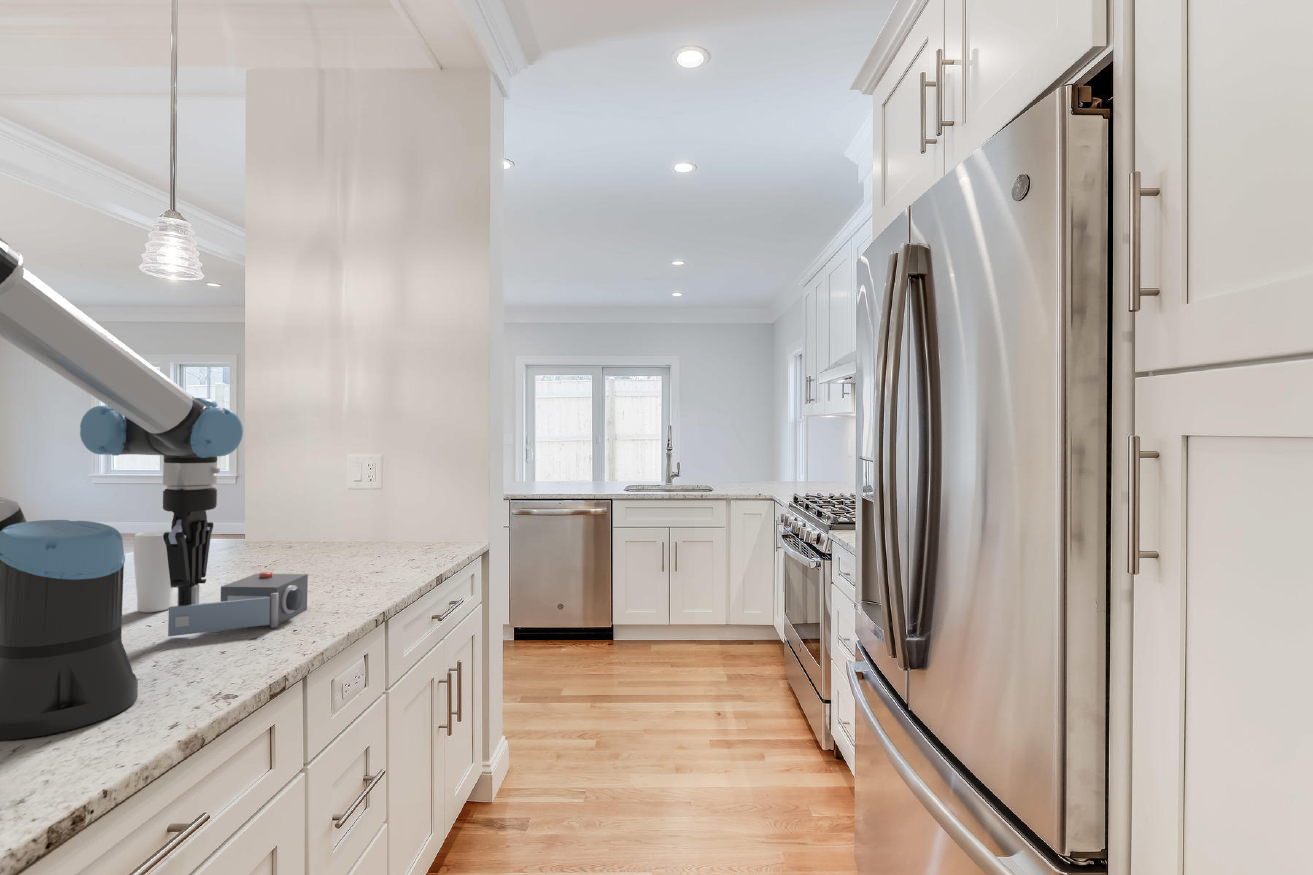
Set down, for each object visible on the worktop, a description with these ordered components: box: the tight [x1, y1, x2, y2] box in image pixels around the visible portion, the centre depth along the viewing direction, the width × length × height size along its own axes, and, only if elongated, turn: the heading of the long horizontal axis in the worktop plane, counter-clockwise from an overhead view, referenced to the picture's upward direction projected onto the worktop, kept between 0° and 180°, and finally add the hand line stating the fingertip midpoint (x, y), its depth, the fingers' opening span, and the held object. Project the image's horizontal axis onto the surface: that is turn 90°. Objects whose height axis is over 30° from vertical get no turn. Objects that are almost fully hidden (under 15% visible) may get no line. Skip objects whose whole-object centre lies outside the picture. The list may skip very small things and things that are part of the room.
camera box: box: [220, 571, 309, 627], centre depth 121 cm, size 11×12×8 cm
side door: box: [167, 593, 279, 637], centre depth 111 cm, size 2×16×6 cm, turn 122°
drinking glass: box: [133, 530, 174, 614], centre depth 125 cm, size 7×7×15 cm
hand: (188, 623), depth 110 cm, fingers closed
